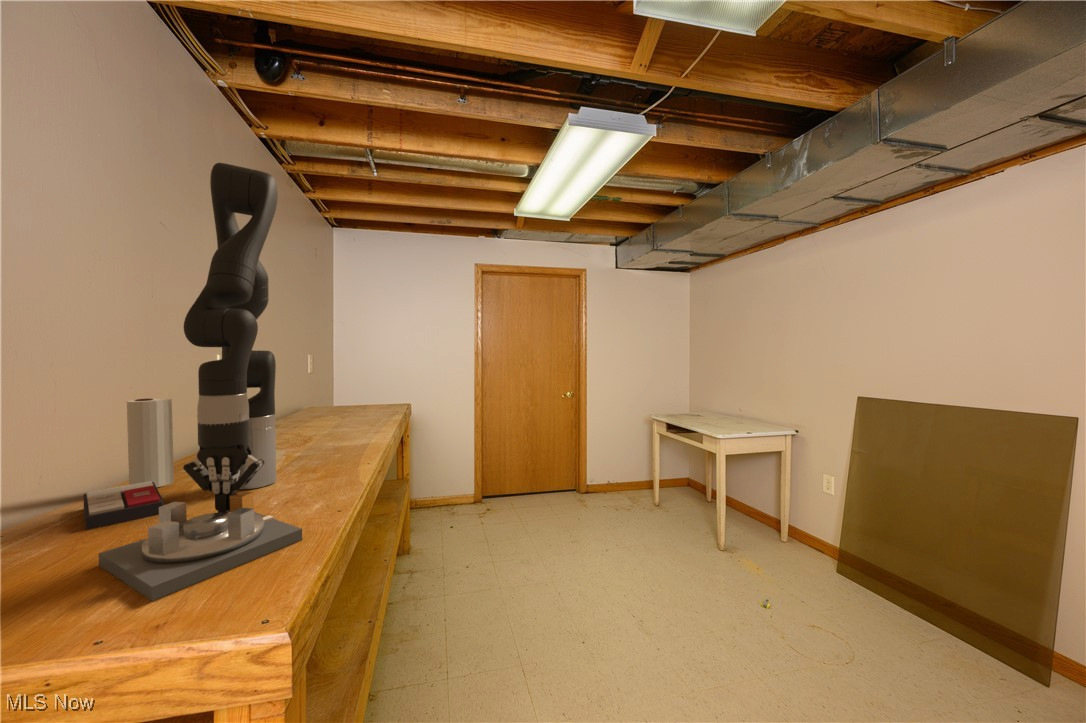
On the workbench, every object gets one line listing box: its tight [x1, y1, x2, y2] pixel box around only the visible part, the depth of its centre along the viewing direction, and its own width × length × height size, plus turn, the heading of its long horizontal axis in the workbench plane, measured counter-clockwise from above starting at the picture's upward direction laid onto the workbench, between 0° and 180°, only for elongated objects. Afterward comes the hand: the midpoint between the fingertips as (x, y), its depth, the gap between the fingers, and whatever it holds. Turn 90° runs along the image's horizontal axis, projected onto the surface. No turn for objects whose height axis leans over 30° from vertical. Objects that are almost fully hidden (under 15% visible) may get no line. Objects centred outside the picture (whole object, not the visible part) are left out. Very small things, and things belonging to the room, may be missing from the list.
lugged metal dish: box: [142, 490, 264, 563], centre depth 71 cm, size 16×16×5 cm
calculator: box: [82, 481, 165, 531], centre depth 88 cm, size 11×4×15 cm
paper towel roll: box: [126, 398, 175, 488], centre depth 102 cm, size 7×6×21 cm
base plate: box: [98, 511, 303, 602], centre depth 72 cm, size 19×21×2 cm
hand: (225, 511), depth 78 cm, fingers closed
